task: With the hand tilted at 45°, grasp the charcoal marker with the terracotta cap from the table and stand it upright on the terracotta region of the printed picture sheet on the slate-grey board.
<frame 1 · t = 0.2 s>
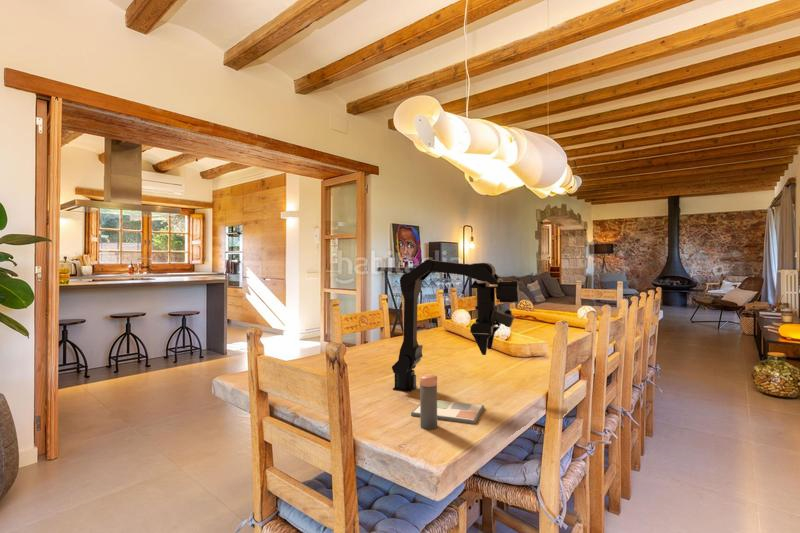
hand: (487, 351, 131), 14 cm above the table, tool pointing down, fingers open, 9 cm apart
picture board: (448, 411, 118), on the table
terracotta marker: (428, 426, 108), on the table
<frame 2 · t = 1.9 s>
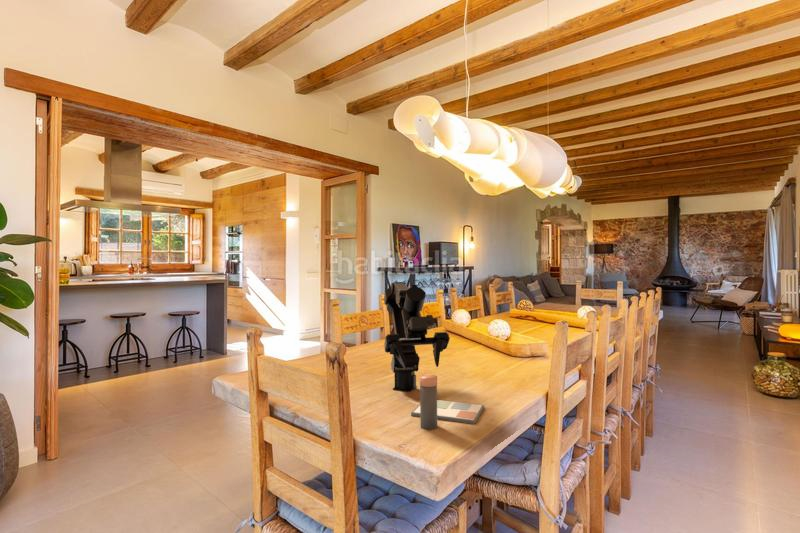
hand: (421, 367, 116), 13 cm above the table, tool tilted 45°, fingers open, 9 cm apart
nothing on the table moved.
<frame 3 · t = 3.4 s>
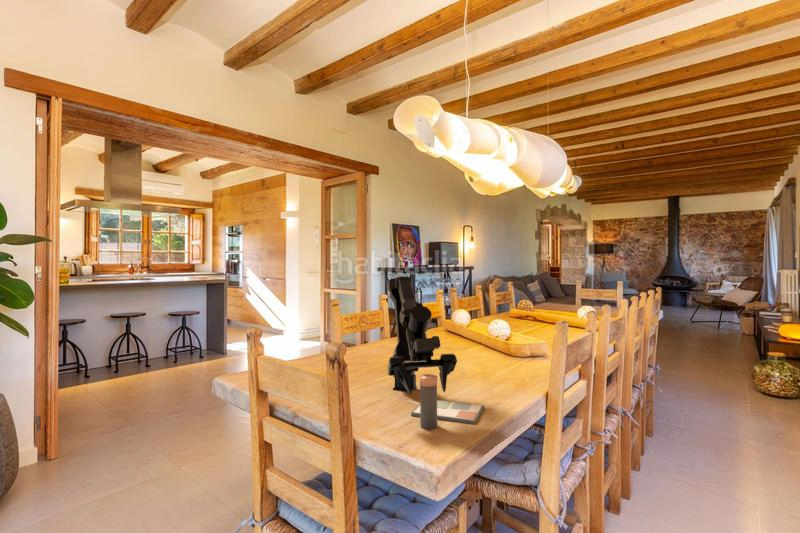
hand: (427, 392, 109), 9 cm above the table, tool tilted 45°, fingers open, 9 cm apart
nothing on the table moved.
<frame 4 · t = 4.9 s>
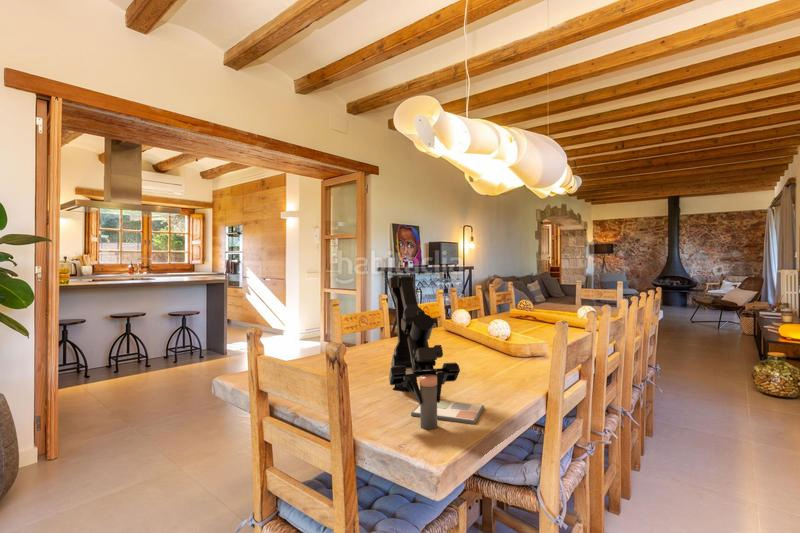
hand: (429, 402, 107), 7 cm above the table, tool tilted 45°, fingers closed on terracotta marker, 4 cm apart
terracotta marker: (428, 426, 108), on the table, touching gripper
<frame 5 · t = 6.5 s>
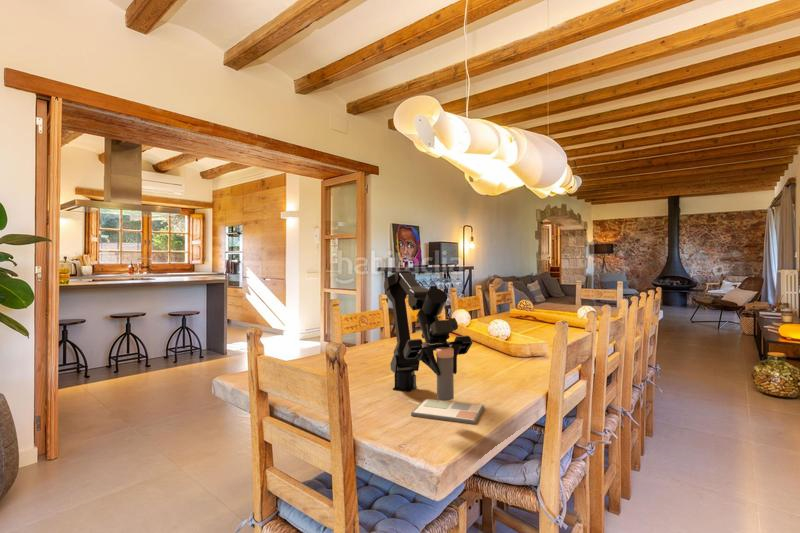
hand: (447, 374, 108), 13 cm above the table, tool tilted 45°, fingers closed on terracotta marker, 4 cm apart
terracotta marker: (445, 397, 110), point 7 cm above the table, touching gripper
when the fingers open (9 cm above the table, at t = 8.5 s): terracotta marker stays where it is, resting on picture board.
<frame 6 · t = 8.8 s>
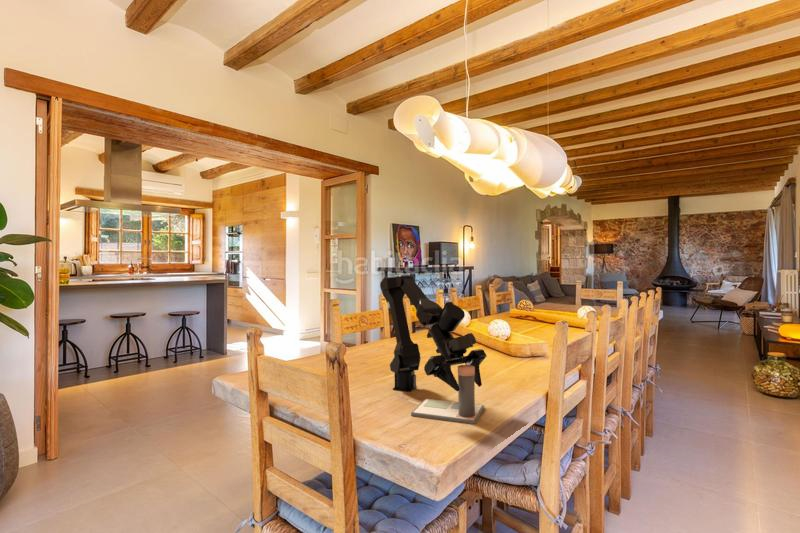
hand: (469, 388, 112), 9 cm above the table, tool tilted 45°, fingers open, 7 cm apart
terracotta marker: (466, 414, 113), point 1 cm above the table, touching picture board
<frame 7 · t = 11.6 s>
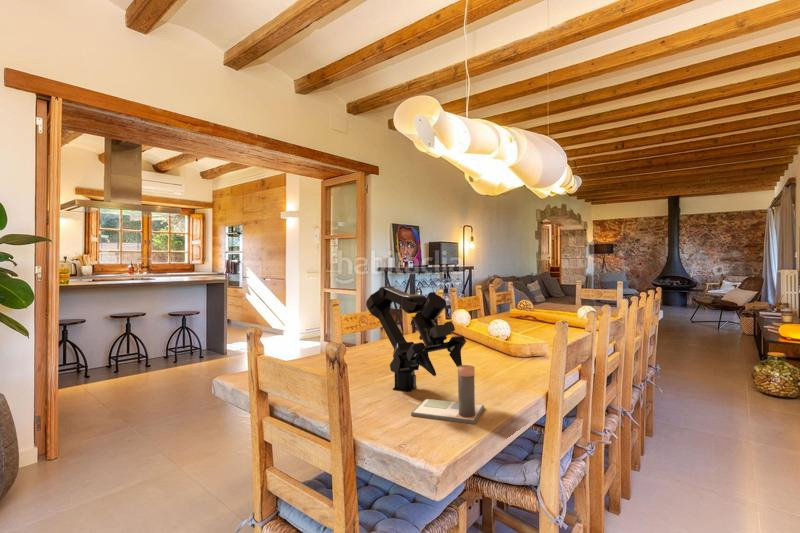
hand: (448, 372, 121), 11 cm above the table, tool tilted 40°, fingers open, 9 cm apart
nothing on the table moved.
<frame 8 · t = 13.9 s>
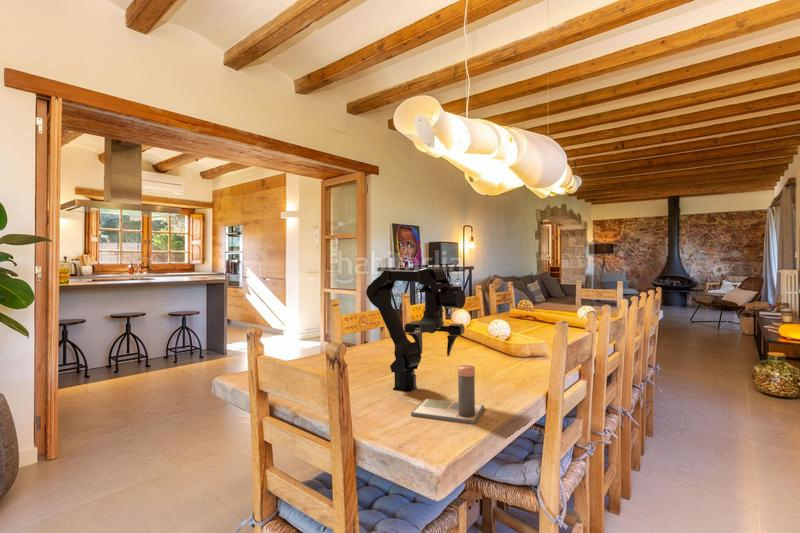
hand: (434, 355, 133), 13 cm above the table, tool pointing down, fingers open, 9 cm apart
nothing on the table moved.
at the end: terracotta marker 0.0 cm from the target spot on the picture board, point 1.0 cm above the picture board's base; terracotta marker tilted 0°; the gripper is holding nothing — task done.
